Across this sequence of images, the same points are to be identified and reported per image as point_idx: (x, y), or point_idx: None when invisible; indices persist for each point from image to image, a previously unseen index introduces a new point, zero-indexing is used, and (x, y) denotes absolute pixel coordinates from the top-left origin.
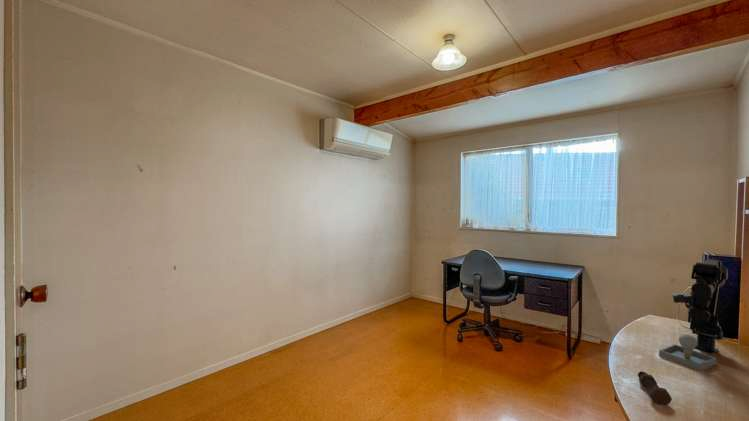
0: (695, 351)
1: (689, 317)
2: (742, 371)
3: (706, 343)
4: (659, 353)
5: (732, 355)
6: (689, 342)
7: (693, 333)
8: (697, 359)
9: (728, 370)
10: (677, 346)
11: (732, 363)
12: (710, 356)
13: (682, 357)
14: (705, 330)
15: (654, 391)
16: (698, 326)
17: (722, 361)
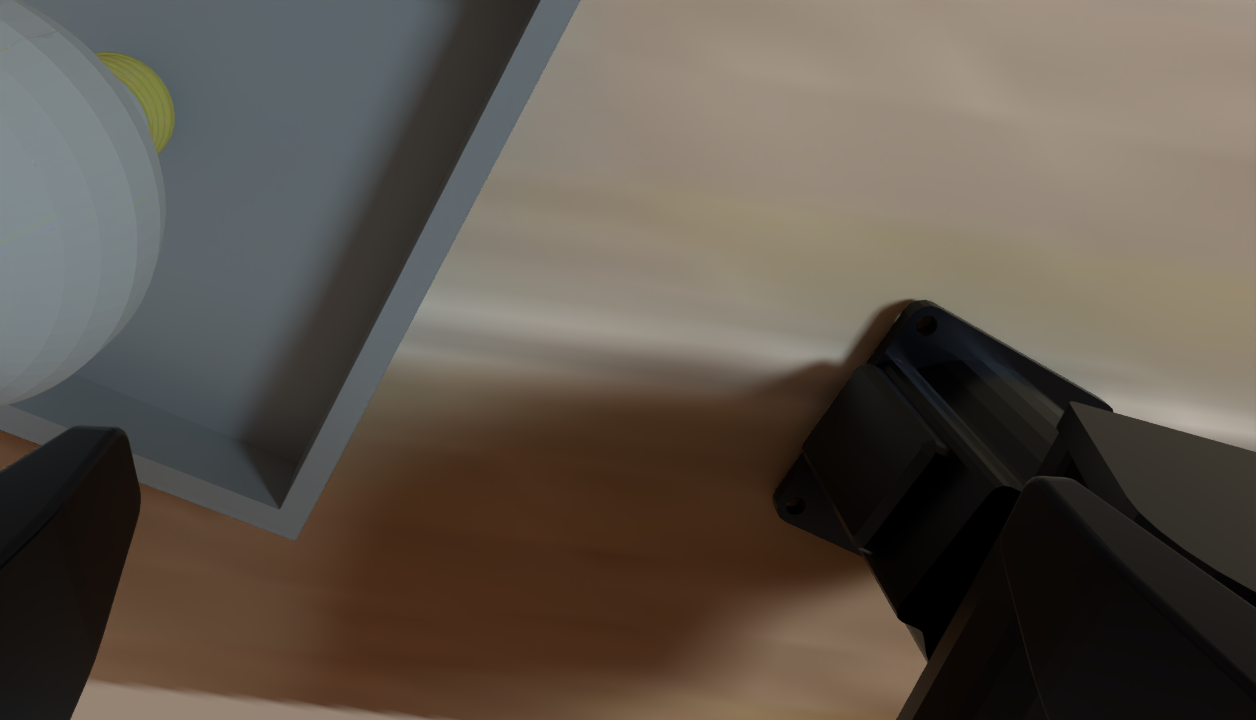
0: (395, 292)
1: (1146, 646)
2: (278, 702)
3: (844, 525)
4: None
5: (860, 692)
6: None
7: (1061, 421)
8: (226, 266)
9: (162, 577)
10: (536, 11)
11: (521, 653)
12: (296, 475)
13: (101, 24)
14: (923, 706)
15: None
16: (1015, 642)
17: (513, 566)
